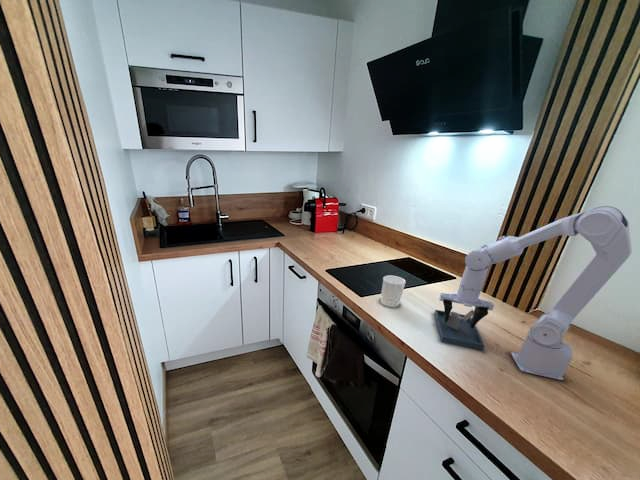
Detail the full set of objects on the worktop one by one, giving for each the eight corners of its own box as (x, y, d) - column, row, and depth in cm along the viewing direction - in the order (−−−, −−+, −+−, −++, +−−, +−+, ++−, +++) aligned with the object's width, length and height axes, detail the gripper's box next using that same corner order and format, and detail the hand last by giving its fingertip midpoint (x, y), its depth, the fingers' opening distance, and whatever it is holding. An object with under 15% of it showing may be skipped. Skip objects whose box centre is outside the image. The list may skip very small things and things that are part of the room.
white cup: (404, 307, 107) (410, 283, 103) (385, 308, 106) (390, 284, 102) (393, 297, 114) (398, 274, 110) (375, 298, 113) (379, 275, 109)
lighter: (443, 324, 97) (450, 304, 93) (445, 322, 98) (452, 302, 95) (467, 334, 92) (474, 312, 89) (468, 332, 93) (476, 311, 90)
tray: (468, 320, 100) (470, 316, 99) (482, 350, 85) (484, 345, 84) (433, 314, 104) (435, 309, 103) (441, 341, 89) (442, 336, 88)
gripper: (445, 287, 87) (434, 324, 92) (502, 297, 82) (487, 335, 87) (443, 278, 93) (433, 313, 98) (495, 287, 88) (482, 323, 93)
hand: (458, 323), depth 93 cm, fingers closed on lighter, 7 cm apart
